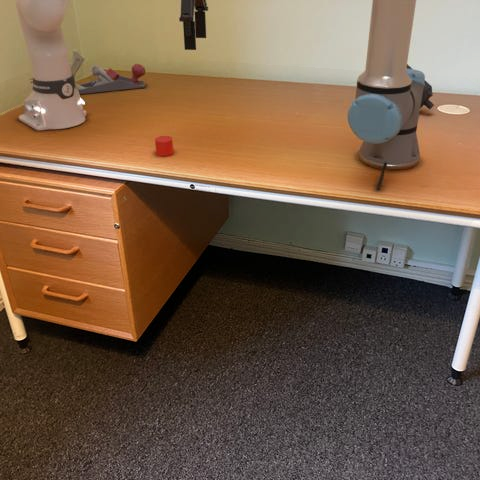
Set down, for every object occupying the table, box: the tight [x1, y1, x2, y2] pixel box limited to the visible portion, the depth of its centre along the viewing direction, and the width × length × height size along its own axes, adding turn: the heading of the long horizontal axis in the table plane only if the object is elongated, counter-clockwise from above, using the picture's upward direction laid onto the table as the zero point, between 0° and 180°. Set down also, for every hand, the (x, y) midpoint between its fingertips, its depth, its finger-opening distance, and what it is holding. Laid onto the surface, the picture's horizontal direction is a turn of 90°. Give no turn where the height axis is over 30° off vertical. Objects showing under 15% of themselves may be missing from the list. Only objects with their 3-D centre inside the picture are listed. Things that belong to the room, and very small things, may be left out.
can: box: [154, 135, 174, 157], centre depth 144 cm, size 5×5×4 cm
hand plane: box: [70, 48, 146, 95], centre depth 194 cm, size 7×31×15 cm, turn 107°
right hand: (195, 43), depth 136 cm, fingers open, 13 cm apart
